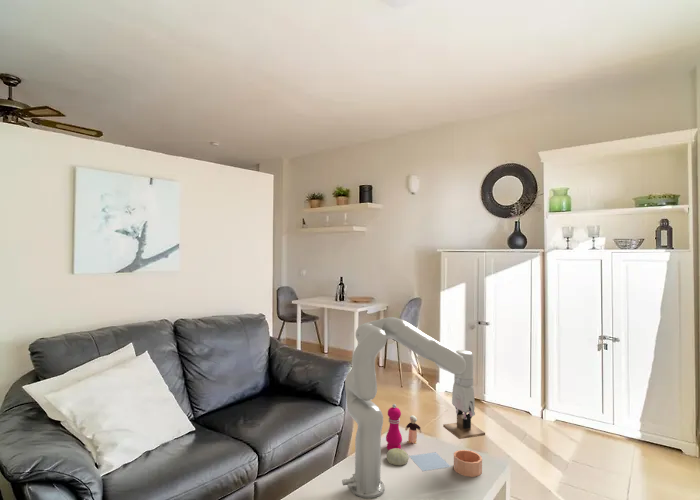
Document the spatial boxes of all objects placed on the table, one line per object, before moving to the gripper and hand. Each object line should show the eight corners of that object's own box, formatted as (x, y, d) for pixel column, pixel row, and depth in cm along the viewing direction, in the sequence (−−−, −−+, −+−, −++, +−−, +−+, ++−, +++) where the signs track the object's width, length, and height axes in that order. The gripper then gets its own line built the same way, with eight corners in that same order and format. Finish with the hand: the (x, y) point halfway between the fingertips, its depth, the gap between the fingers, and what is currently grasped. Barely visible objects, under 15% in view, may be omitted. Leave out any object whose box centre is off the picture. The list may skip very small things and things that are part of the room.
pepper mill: (389, 453, 176) (389, 407, 177) (383, 446, 183) (384, 402, 184) (404, 451, 178) (404, 406, 179) (398, 444, 185) (398, 400, 186)
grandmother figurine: (404, 444, 186) (405, 416, 186) (404, 440, 189) (405, 413, 190) (421, 445, 184) (421, 417, 185) (421, 441, 188) (421, 414, 189)
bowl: (463, 478, 156) (463, 464, 157) (448, 465, 167) (448, 451, 167) (487, 475, 160) (487, 461, 160) (471, 461, 170) (471, 448, 170)
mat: (422, 471, 161) (422, 471, 161) (408, 456, 174) (408, 455, 174) (451, 467, 165) (451, 466, 165) (435, 452, 178) (435, 452, 178)
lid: (459, 439, 157) (459, 423, 157) (443, 426, 168) (443, 412, 169) (485, 435, 161) (485, 420, 161) (467, 423, 172) (467, 409, 172)
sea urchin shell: (405, 465, 163) (392, 447, 166) (392, 475, 165) (380, 458, 168) (413, 455, 171) (401, 439, 174) (401, 465, 173) (389, 449, 176)
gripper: (445, 376, 172) (445, 419, 171) (467, 388, 156) (467, 435, 155) (460, 374, 174) (460, 417, 174) (484, 386, 158) (484, 433, 158)
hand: (463, 425), depth 165 cm, fingers closed on lid, 4 cm apart
